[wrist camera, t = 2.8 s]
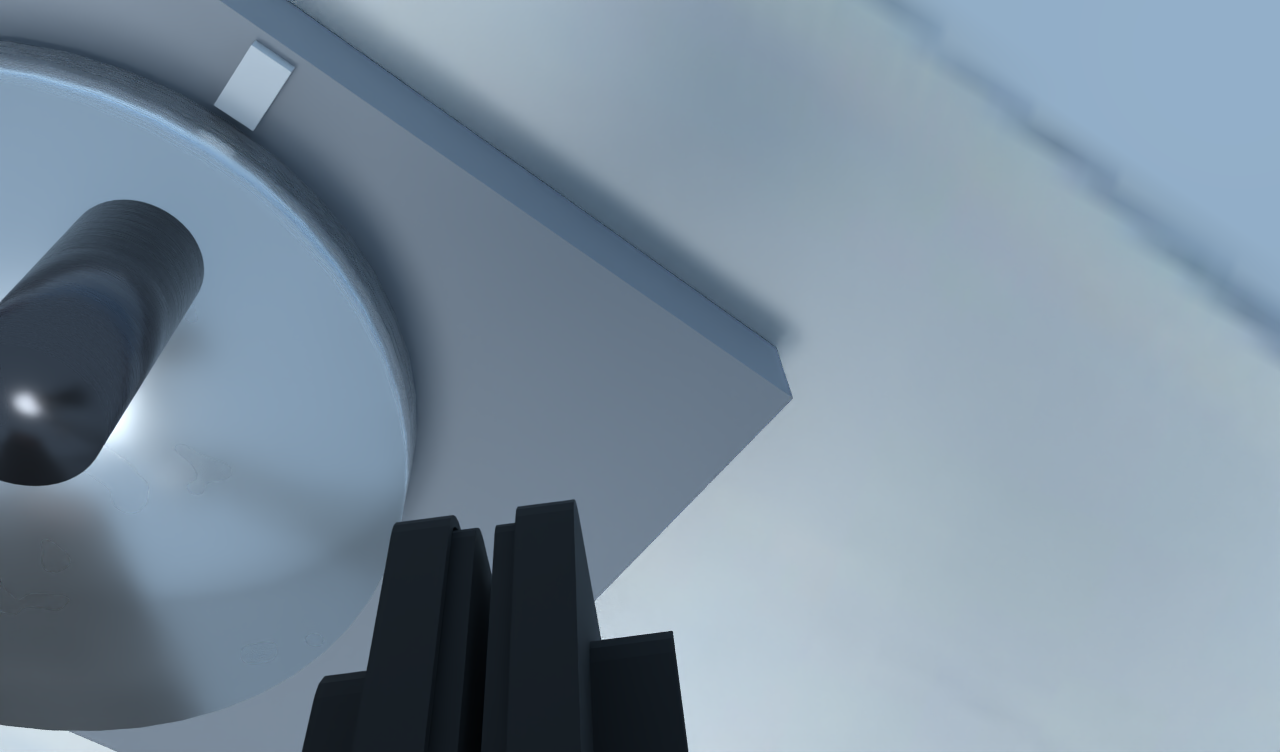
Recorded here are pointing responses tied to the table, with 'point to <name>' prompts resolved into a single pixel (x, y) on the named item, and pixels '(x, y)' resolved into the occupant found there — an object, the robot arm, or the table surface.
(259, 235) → the dial
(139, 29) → the grey base plate
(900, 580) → the table surface
